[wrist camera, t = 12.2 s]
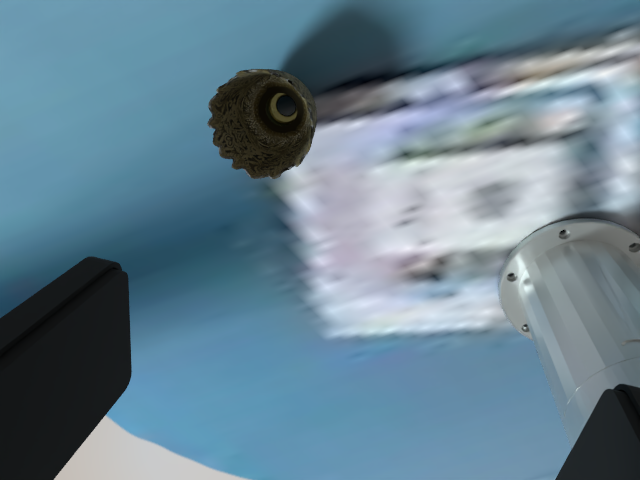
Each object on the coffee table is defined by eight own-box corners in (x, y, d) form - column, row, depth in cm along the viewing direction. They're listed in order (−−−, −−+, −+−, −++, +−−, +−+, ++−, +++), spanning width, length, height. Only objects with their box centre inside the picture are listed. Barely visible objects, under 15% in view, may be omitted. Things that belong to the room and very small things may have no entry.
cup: (301, 39, 37) (275, 47, 30) (347, 123, 40) (332, 149, 32) (226, 87, 40) (186, 105, 33) (273, 164, 42) (244, 195, 35)
